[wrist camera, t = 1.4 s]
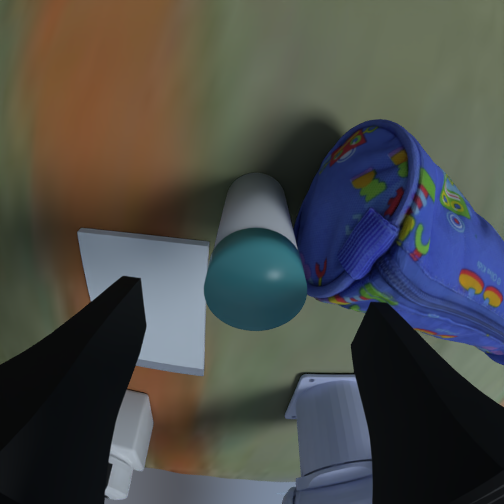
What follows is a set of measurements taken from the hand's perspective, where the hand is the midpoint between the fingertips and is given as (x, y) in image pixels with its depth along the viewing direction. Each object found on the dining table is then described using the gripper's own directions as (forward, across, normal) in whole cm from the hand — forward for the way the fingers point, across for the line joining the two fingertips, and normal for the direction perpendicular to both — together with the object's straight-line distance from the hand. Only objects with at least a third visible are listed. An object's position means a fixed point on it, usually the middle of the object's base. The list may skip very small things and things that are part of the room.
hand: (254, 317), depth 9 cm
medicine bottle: (+10, +12, +25) cm, 29 cm away
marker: (+10, 0, 0) cm, 10 cm away
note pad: (+10, +7, +10) cm, 15 cm away
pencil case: (+10, -13, +1) cm, 16 cm away
